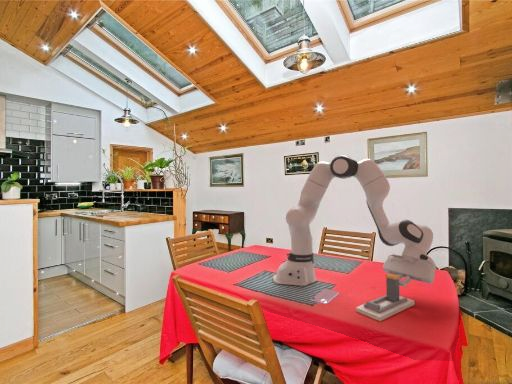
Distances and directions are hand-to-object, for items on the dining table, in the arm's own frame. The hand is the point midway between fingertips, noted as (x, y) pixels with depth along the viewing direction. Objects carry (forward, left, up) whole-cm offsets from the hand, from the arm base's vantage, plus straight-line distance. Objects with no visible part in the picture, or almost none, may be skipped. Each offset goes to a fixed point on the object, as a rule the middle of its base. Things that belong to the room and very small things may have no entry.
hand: (400, 285), depth 115 cm
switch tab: (-5, -4, -5) cm, 8 cm away
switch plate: (-9, -7, -7) cm, 13 cm away
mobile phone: (-31, +4, -7) cm, 32 cm away
